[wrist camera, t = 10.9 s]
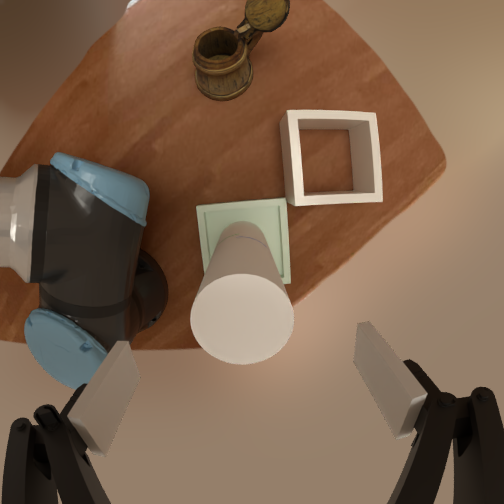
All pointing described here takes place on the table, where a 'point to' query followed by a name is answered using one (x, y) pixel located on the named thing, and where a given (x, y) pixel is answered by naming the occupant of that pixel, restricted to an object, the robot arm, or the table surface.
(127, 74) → the table surface
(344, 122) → the hollow square frame
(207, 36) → the wooden mug
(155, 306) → the robot arm
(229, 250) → the cylindrical container
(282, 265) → the tray
